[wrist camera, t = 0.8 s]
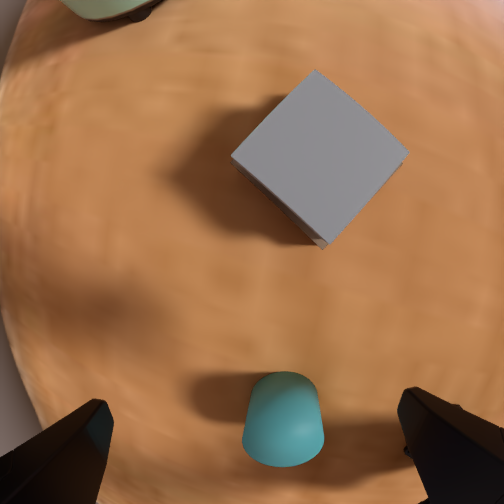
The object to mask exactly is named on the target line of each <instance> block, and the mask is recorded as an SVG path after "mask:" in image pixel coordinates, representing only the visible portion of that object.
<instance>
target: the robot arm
mask: <svg viewBox="0 0 504 504" xmlns="http://www.w3.org/2000/svg"><path fill="white" fill-rule="evenodd" d="M397 413H398V417H399V420H400V423H401V426H402V430H403V433H404V436H405V439H406V443H407V446H406V447H405V448H404V452H405V454H406V455H407V456H409V457H410V458H411V459H413V461H414V464H415V466H416V468H417V471H418V473H419V476H420V478H421V480H422V483H423V485H424V488H425V490H426V493H427V495H428V498H427V499H426V500H424V501H421V502H420V503H418V504H504V428H502V427H500V428H499V426H497V425H495V424H493V423H491V422H488V421H486V420H484V419H482V418H480V417H478V416H476V415H473V414H471V413H469V412H467V411H465V410H463V409H462V408H461V406H460V405H453V404H451V403H449V402H447V401H445V400H443V399H441V398H439V397H437V396H435V395H433V394H431V393H429V392H427V391H425V390H423V389H421V388H419V387H411V388H407V389H405V390H404V391H403V394H402V397H401V399H400V402H399V405H398V409H397ZM113 427H114V420H113V417H112V414H111V412H110V409H109V407H108V404H107V402H106V401H105V400H101V399H91V400H90V401H88V402H87V403H85V404H84V405H82V406H81V407H79V408H78V409H76V410H75V411H73V412H72V413H70V414H69V415H67V416H65V417H64V418H62V419H61V420H59V421H58V422H56V423H55V424H53V425H52V426H50V427H48V428H47V429H45V430H44V431H42V432H41V433H39V434H37V435H36V436H34V437H33V438H31V439H29V440H28V441H26V442H25V443H23V444H21V445H20V446H18V447H17V448H15V449H14V451H13V450H12V451H10V452H8V453H7V454H5V455H3V456H1V457H0V504H95V503H96V500H97V496H98V492H99V489H100V485H101V482H102V478H103V475H104V472H105V468H106V464H107V459H108V453H109V448H110V442H111V437H112V432H113Z"/></svg>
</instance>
